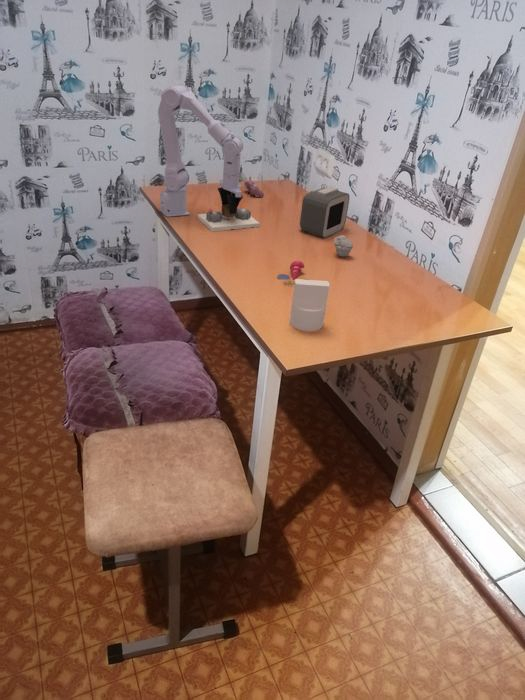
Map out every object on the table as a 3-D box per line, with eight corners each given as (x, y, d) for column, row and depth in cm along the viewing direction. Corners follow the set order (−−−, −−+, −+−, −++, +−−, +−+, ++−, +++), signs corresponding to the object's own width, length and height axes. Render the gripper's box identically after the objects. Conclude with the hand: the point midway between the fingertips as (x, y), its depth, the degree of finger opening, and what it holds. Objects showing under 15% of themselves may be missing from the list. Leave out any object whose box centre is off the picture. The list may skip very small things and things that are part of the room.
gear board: (212, 231, 202) (212, 216, 199) (197, 218, 213) (197, 203, 210) (259, 226, 211) (260, 212, 208) (243, 214, 221) (244, 200, 218)
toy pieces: (272, 271, 180) (273, 258, 177) (306, 272, 181) (308, 259, 179) (278, 288, 170) (280, 274, 167) (314, 289, 171) (316, 275, 169)
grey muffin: (335, 250, 198) (339, 231, 194) (354, 256, 195) (357, 236, 192) (328, 255, 194) (331, 236, 190) (347, 261, 191) (350, 241, 187)
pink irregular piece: (246, 194, 247) (240, 180, 243) (255, 189, 248) (249, 175, 243) (256, 201, 240) (250, 187, 235) (265, 196, 240) (259, 182, 236)
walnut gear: (225, 218, 207) (225, 210, 205) (218, 212, 211) (219, 204, 209) (239, 216, 209) (240, 208, 208) (232, 211, 213) (233, 203, 212)
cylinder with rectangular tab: (320, 315, 157) (327, 276, 150) (324, 332, 149) (331, 291, 143) (288, 313, 156) (293, 273, 150) (290, 330, 149) (296, 289, 142)
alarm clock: (321, 240, 205) (328, 197, 197) (295, 231, 211) (301, 189, 202) (344, 229, 217) (351, 189, 208) (319, 221, 222) (325, 181, 214)
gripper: (250, 178, 198) (247, 216, 206) (232, 167, 209) (230, 203, 216) (232, 179, 195) (229, 217, 203) (215, 168, 206) (213, 204, 213)
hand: (229, 210), depth 209 cm, fingers closed on walnut gear, 6 cm apart
